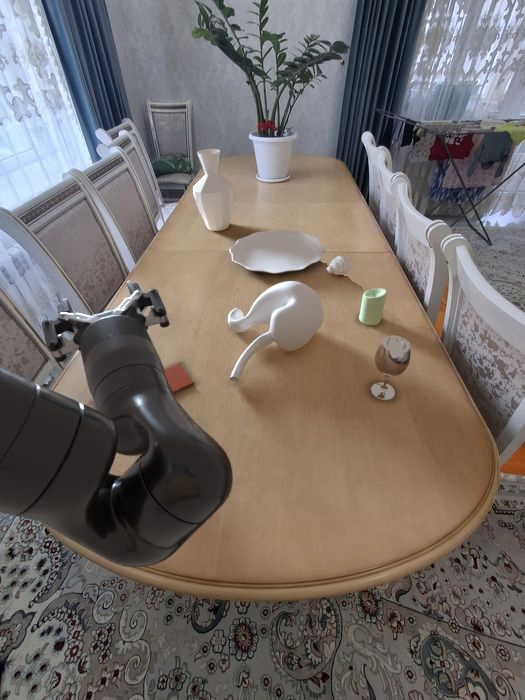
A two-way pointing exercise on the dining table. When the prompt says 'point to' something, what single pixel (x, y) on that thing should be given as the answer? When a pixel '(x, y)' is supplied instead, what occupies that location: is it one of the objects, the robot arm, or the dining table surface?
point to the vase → (214, 193)
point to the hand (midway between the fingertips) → (99, 295)
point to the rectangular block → (177, 378)
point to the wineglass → (390, 363)
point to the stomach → (279, 319)
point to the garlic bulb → (339, 265)
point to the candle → (372, 306)
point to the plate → (277, 251)
